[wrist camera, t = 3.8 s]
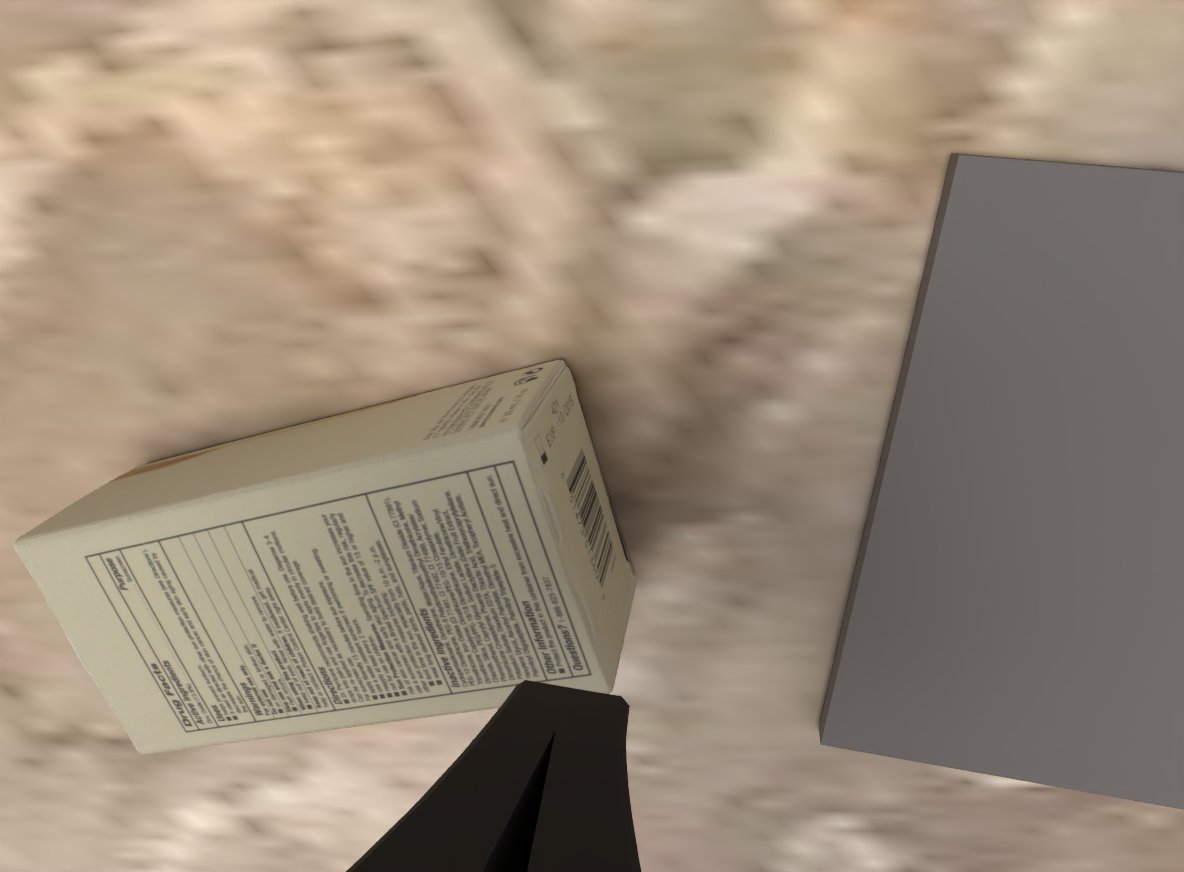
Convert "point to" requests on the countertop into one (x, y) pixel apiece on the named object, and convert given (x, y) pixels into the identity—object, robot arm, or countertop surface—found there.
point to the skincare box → (347, 569)
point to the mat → (1032, 493)
